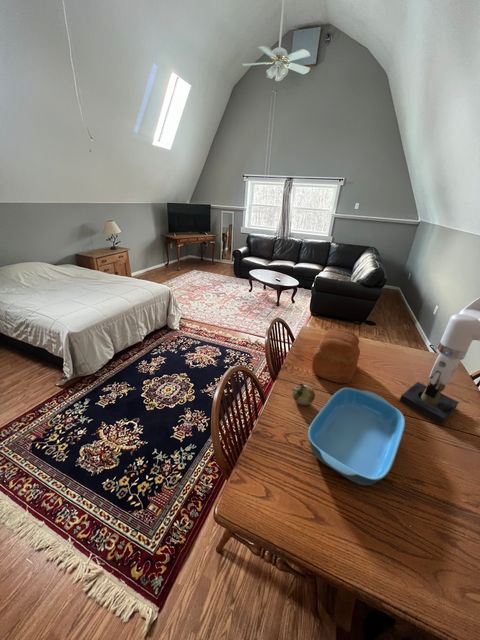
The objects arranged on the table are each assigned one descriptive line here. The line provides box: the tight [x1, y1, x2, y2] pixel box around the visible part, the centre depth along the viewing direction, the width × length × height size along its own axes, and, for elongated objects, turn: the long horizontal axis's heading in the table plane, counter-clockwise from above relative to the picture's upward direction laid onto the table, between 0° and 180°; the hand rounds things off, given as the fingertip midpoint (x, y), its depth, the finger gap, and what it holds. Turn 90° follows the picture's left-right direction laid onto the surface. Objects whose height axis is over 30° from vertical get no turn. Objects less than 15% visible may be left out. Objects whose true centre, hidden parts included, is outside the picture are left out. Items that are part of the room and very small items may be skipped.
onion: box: [291, 382, 316, 406], centre depth 97 cm, size 8×8×8 cm
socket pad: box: [399, 381, 460, 426], centre depth 99 cm, size 14×14×3 cm
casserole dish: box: [307, 387, 406, 486], centre depth 82 cm, size 37×22×7 cm, turn 140°
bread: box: [311, 328, 361, 384], centre depth 115 cm, size 18×22×17 cm
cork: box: [420, 378, 446, 406], centre depth 98 cm, size 6×6×11 cm
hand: (433, 392), depth 97 cm, fingers closed on cork, 5 cm apart
